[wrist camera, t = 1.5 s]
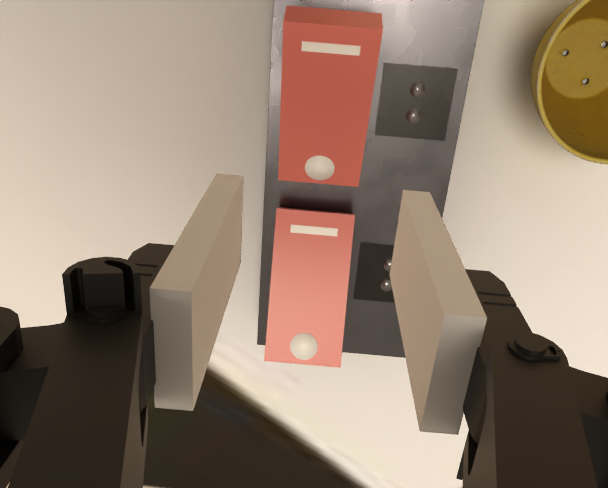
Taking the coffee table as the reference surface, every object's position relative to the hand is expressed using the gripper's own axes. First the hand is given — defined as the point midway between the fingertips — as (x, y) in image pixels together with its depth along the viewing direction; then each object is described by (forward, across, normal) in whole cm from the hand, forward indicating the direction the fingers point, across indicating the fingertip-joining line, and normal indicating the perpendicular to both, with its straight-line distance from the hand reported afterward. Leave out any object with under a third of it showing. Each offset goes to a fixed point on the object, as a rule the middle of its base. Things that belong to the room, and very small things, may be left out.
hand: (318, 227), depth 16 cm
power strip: (+25, +2, -6) cm, 26 cm away
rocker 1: (+18, 0, 0) cm, 18 cm away
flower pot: (+25, +16, +3) cm, 30 cm away
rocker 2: (+18, 0, -12) cm, 22 cm away
